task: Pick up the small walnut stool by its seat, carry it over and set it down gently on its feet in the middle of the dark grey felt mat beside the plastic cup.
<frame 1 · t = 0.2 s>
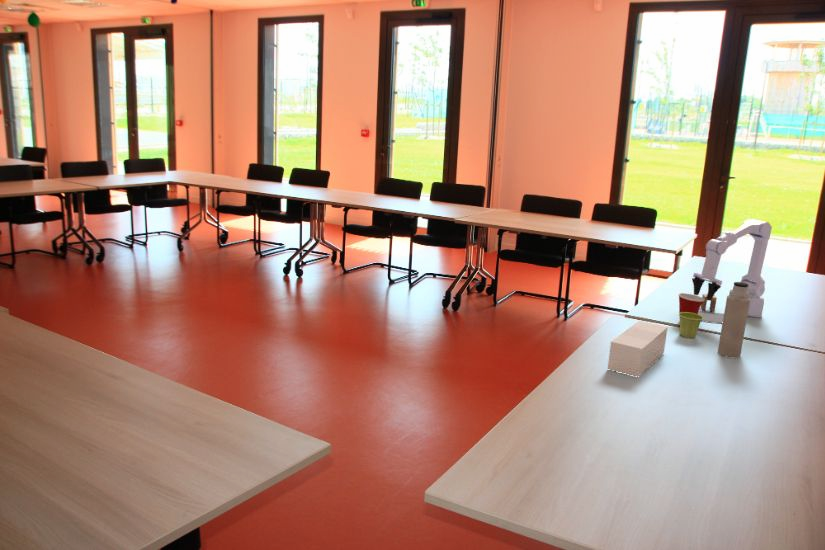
hand: (702, 297, 303), 11 cm above the table, tool pointing down, fingers open, 7 cm apart
stool: (707, 309, 324), on the table
thermos bottle: (728, 354, 264), on the table
beige rectangular block: (636, 362, 250), on the table
mat: (713, 317, 310), on the table
plant pot: (687, 336, 283), on the table
plastic cup: (687, 322, 301), on the table
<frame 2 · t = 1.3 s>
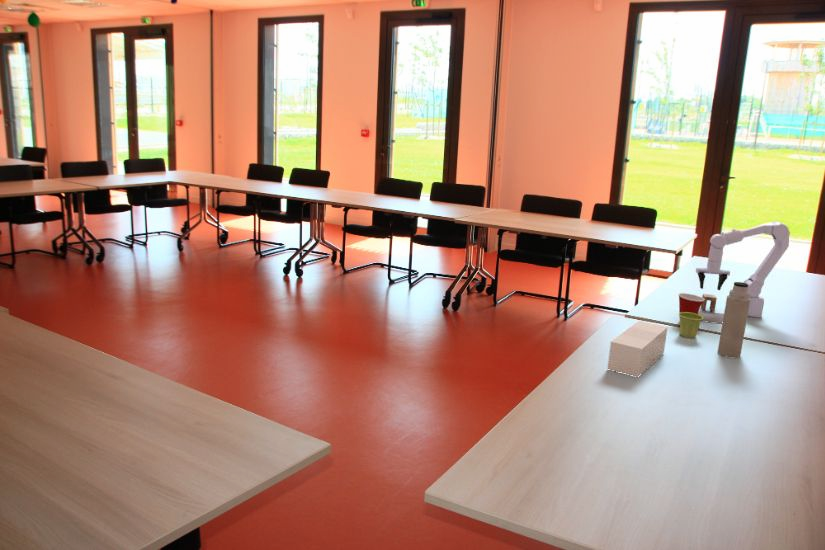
hand: (709, 289, 321), 10 cm above the table, tool pointing down, fingers open, 7 cm apart
nothing on the table moved.
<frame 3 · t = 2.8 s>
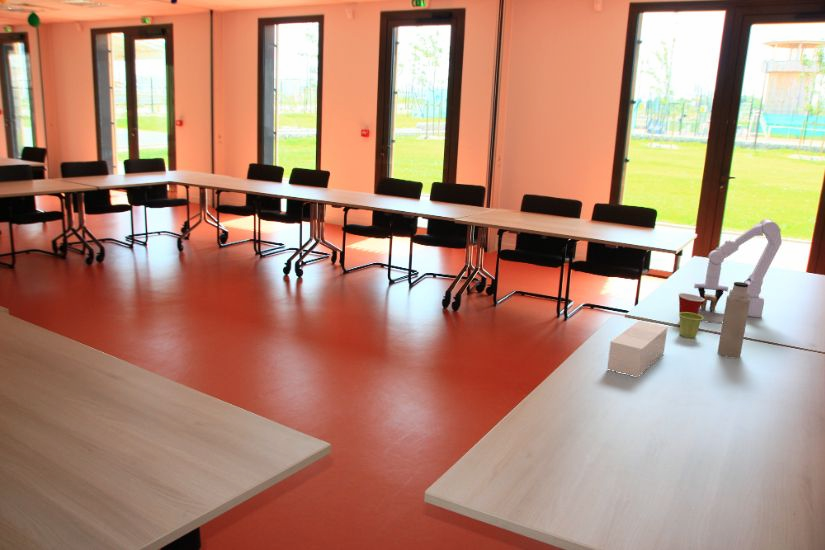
hand: (708, 304, 323), 2 cm above the table, tool pointing down, fingers closed on stool, 5 cm apart
stool: (707, 309, 324), on the table, touching gripper
everything else where it was.
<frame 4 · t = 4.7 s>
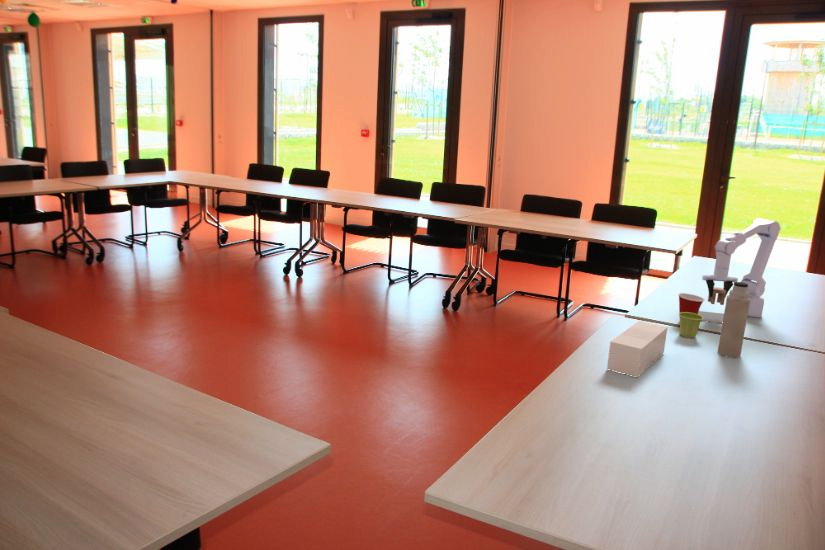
hand: (717, 296, 308), 10 cm above the table, tool pointing down, fingers closed on stool, 5 cm apart
stool: (715, 303, 309), point 7 cm above the table, touching gripper
everything else where it was.
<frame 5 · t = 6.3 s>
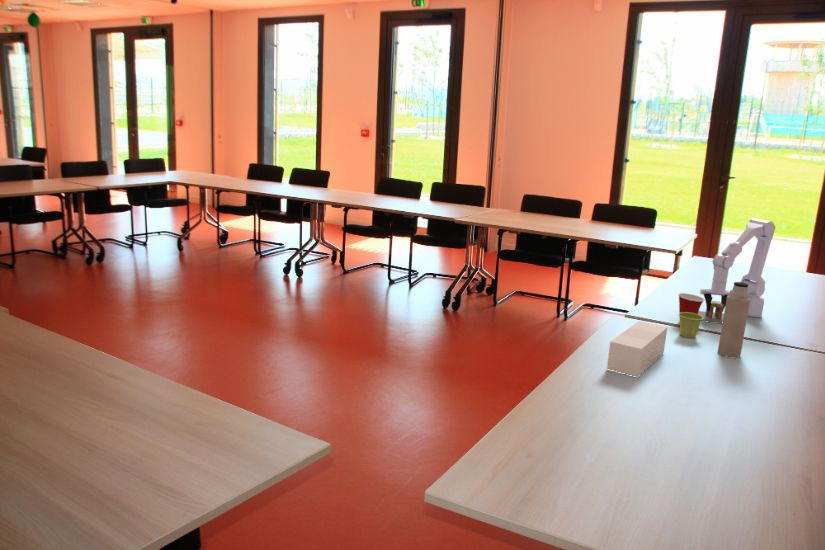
hand: (714, 310, 309), 3 cm above the table, tool pointing down, fingers closed on stool, 5 cm apart
stool: (713, 316, 310), resting on mat, touching gripper
everything else where it was.
when the fingers open (3 cm above the table, at t = 7.1 s): stool stays where it is, resting on mat.
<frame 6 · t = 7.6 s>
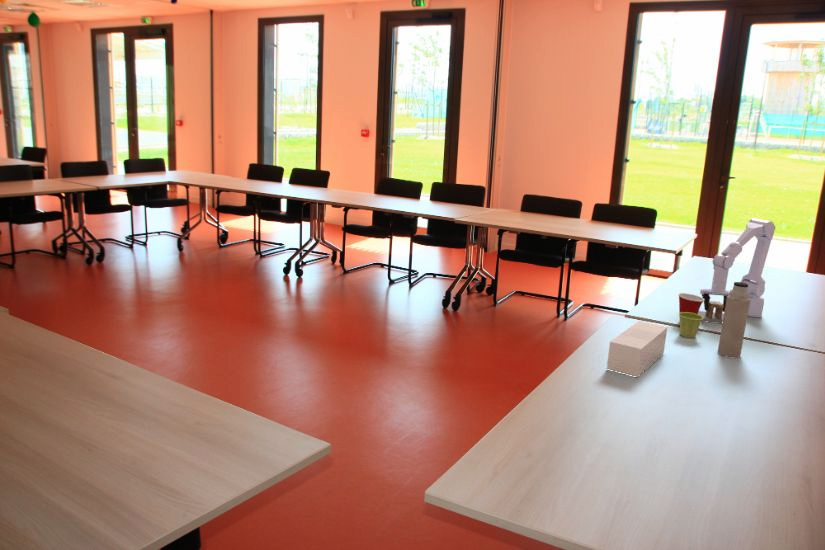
hand: (714, 310, 309), 3 cm above the table, tool pointing down, fingers open, 7 cm apart
stool: (713, 316, 310), resting on mat
everything else where it was.
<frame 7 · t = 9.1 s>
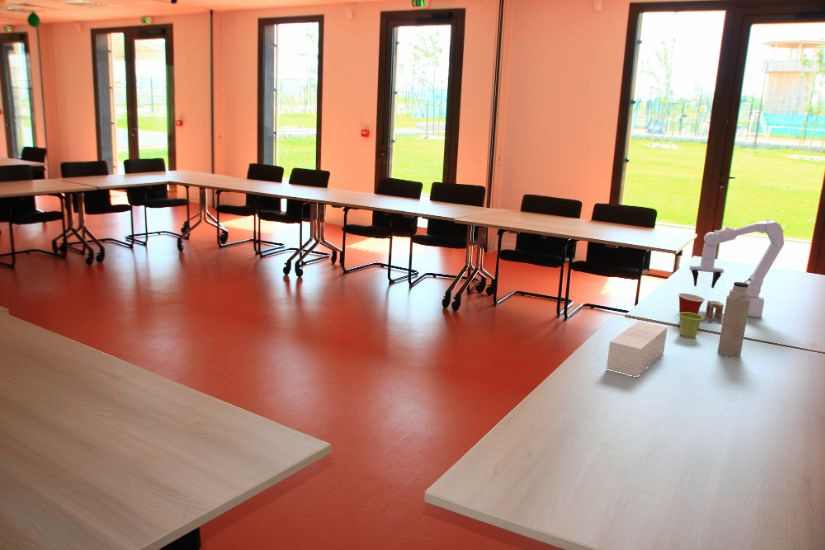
hand: (703, 286, 323), 10 cm above the table, tool pointing down, fingers open, 7 cm apart
nothing on the table moved.
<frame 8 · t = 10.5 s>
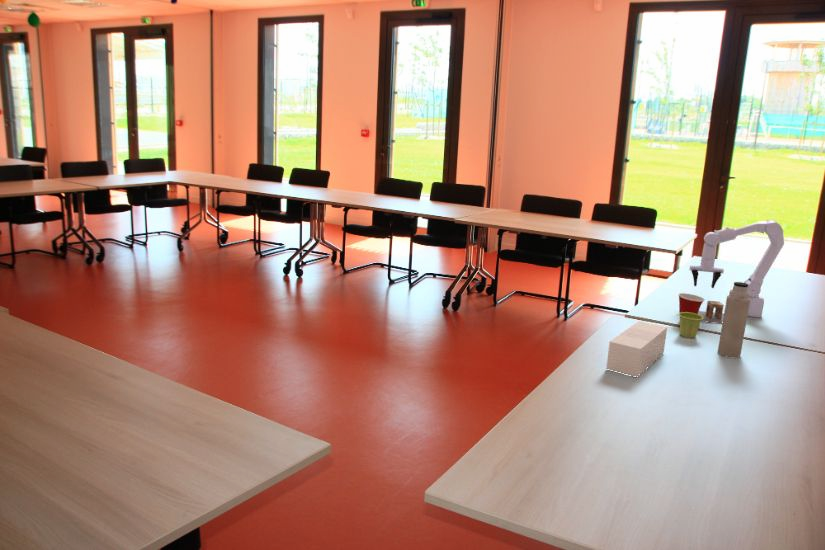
hand: (703, 286, 323), 10 cm above the table, tool pointing down, fingers open, 7 cm apart
nothing on the table moved.
at the end: stool inside the target area on the mat (0.3 cm from its centre), point 0.4 cm above the mat's base; stool tilted 0°; the gripper is holding nothing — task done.
